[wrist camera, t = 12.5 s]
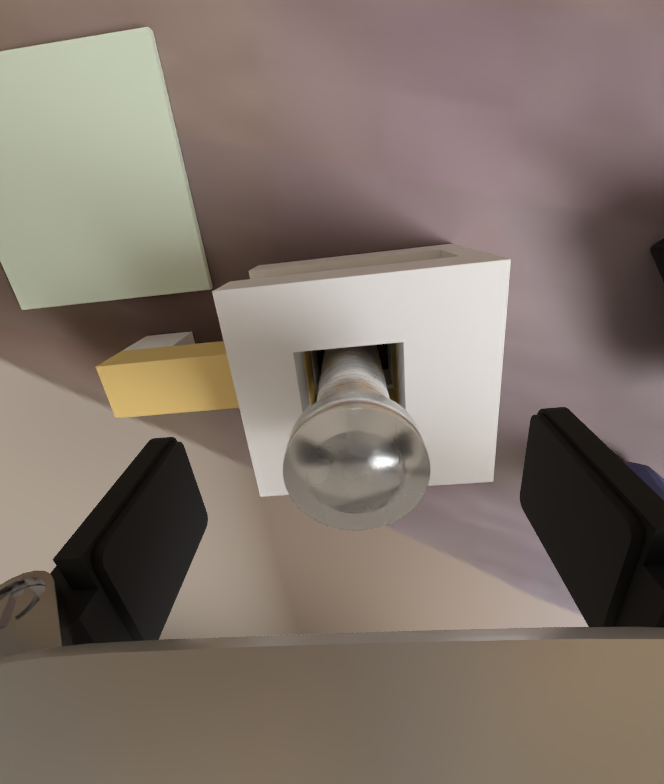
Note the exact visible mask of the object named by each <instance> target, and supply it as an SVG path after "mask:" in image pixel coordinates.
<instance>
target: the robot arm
mask: <svg viewBox="0 0 664 784" xmlns="http://www.w3.org/2000/svg"><path fill="white" fill-rule="evenodd" d="M520 502H521V506H522V509H523V511H524V512H525V514H526V516H527V518H528V519H529V521H530V523H531V525H532V527H533V528H534V530H535V532H536V534H537V535H538V537H539V539H540V541H541V543H542V544H543V546H544V548H545V550H546V551H547V553H548V555H549V557H550V559H551V560H552V562H553V564H554V566H555V567H556V569H557V571H558V573H559V575H560V576H561V578H562V580H563V582H564V583H565V585H566V587H567V589H568V591H569V592H570V594H571V596H572V598H573V599H574V601H575V603H576V605H577V607H578V608H579V610H580V612H581V614H582V615H583V617H584V619H585V620H586V623H587V624H588V626H589V627H553V628H552V627H549V628H509V629H472V630H433V631H399V632H369V633H368V632H366V633H336V634H335V633H334V634H305V635H304V634H303V635H273V636H247V637H219V638H193V639H168V640H167V639H166V640H158V639H159V637H160V635H161V632H162V630H163V628H164V625H165V623H166V621H167V618H168V616H169V614H170V611H171V609H172V607H173V604H174V602H175V599H176V597H177V595H178V593H179V590H180V588H181V586H182V583H183V581H184V578H185V576H186V574H187V571H188V569H189V567H190V564H191V562H192V560H193V557H194V555H195V553H196V550H197V548H198V546H199V543H200V541H201V539H202V536H203V534H204V532H205V529H206V526H207V522H208V517H207V512H206V509H205V506H204V503H203V500H202V497H201V494H200V491H199V489H198V486H197V483H196V480H195V477H194V474H193V471H192V468H191V465H190V462H189V459H188V456H187V454H186V451H185V448H184V445H183V444H182V443H181V442H177V440H176V439H175V438H174V437H167V438H154V439H151V440H150V441H149V442H148V443H147V444H146V445H145V447H144V448H143V449H142V450H141V452H140V453H139V454H138V455H137V457H136V458H135V459H134V460H133V461H132V463H131V464H130V465H129V466H128V468H127V469H126V470H125V472H124V473H123V474H122V475H121V476H120V478H119V479H118V480H117V481H116V482H115V484H114V485H113V486H112V487H111V489H110V490H109V491H108V492H107V494H106V495H105V496H104V497H103V498H102V500H101V501H100V502H99V503H98V505H97V506H96V507H95V508H94V509H93V511H92V512H91V513H90V514H89V516H88V517H87V518H86V519H85V521H84V522H83V523H82V524H81V526H80V527H79V528H78V529H77V531H76V532H75V533H74V534H73V535H72V537H71V538H70V539H69V540H68V541H67V543H66V544H65V545H64V546H63V548H62V549H61V550H60V551H59V553H58V554H57V555H56V556H55V557H54V559H53V561H54V562H55V564H56V565H57V566H56V567H55V568H54V570H53V571H52V572H51V573H50V574H49V573H48V572H46V571H32V572H27V573H23V574H21V575H19V576H16V577H14V578H11V579H10V580H8V581H6V582H4V583H3V584H1V585H0V784H664V500H663V499H662V498H661V497H660V496H659V495H658V494H656V493H655V492H654V491H653V490H652V489H651V488H650V487H649V486H648V485H647V484H646V483H645V482H644V481H643V480H642V479H641V478H640V477H639V476H638V475H637V474H636V473H635V472H634V471H632V470H631V469H630V468H629V467H628V466H627V465H626V464H625V463H624V462H623V461H622V460H621V459H620V458H619V457H618V456H617V455H616V454H615V453H614V452H613V451H612V450H611V449H610V448H608V447H607V446H606V445H605V444H604V443H603V442H602V441H601V440H600V439H599V438H598V437H597V436H596V435H595V434H594V433H593V432H592V431H591V430H590V429H589V428H588V427H587V426H585V425H584V424H583V423H582V422H581V421H580V420H579V419H578V418H577V417H576V416H575V415H574V414H573V413H572V412H571V411H570V410H569V409H567V408H566V407H559V408H546V409H540V410H539V412H538V414H537V415H533V416H532V417H531V420H530V427H529V434H528V441H527V448H526V456H525V463H524V470H523V477H522V484H521V491H520Z"/></svg>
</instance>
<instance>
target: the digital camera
mask: <svg viewBox="0 0 664 784" xmlns="http://www.w3.org/2000/svg"><path fill="white" fill-rule="evenodd" d="M658 245H661V246H658ZM651 253H652V255H653V257H654V260H655V262H656V265H657V267H658V269H659V272H660V274H661V276H662V279H663V281H664V239H662V240H660V241H659V242H657V243H656V244H654V245H653V246H652V247H651Z"/></svg>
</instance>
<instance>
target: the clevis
mask: <svg viewBox="0 0 664 784" xmlns="http://www.w3.org/2000/svg"><path fill="white" fill-rule="evenodd" d="M510 263H511V259H508V258H505V257H501V256H497V255H493V254H490V253H486V252H482V251H479V250H475V249H471V248H467V247H464V246H460V245H456V244H444V245H435V246H426V247H417V248H408V249H399V250H391V251H382V252H373V253H364V254H355V255H346V256H337V257H328V258H320V259H311V260H302V261H293V262H284V263H275V264H266V265H258V266H256V267H255V268H253V269H251V270H249V276H250V279H247V280H238V281H230V282H228V283H226V284H224V285H223V286H221V287H219V288H217V289H216V290H214V291H212V294H213V298H214V302H215V307H216V311H217V315H218V319H219V323H220V328H221V332H222V336H223V340H224V341H218V342H208V343H198V344H195V341H194V338H193V334H192V331H191V332H181V333H171V334H161V335H151V336H146V337H144V338H142V339H141V340H139V341H137V342H136V343H134V344H132V345H131V346H129V347H127V348H126V349H124V350H122V351H121V352H119V353H117V354H116V355H114V356H112V357H111V358H109V359H107V360H106V361H104V362H102V363H101V364H99V365H97V366H96V369H97V371H98V374H99V377H100V379H101V382H102V384H103V387H104V389H105V392H106V395H107V397H108V400H109V402H110V405H111V407H112V410H113V412H114V415H115V417H116V418H122V417H134V416H146V415H158V414H170V413H182V412H194V411H207V410H219V409H231V408H240V413H241V417H242V421H243V425H244V430H245V434H246V438H247V442H248V447H249V451H250V455H251V459H252V463H253V468H254V472H255V476H256V480H257V484H258V489H259V493H260V496H277V495H289V494H288V491H287V489H286V487H285V483H284V479H283V461H284V456H285V452H286V448H287V444H288V440H289V437H290V433H291V431H292V428H293V426H294V424H295V422H296V421H297V419H298V418H299V417H300V415H301V414H302V413H303V412H304V411H305V410H306V409H307V408H308V407H310V406H311V405H312V404H314V403H315V402H317V395H318V389H319V382H320V376H321V375H320V372H319V364H318V357H317V350H324V349H335V348H345V347H356V346H367V345H377V344H387V351H388V369H384V370H383V374H384V378H385V382H386V386H387V390H388V394H389V398H390V399H391V400H393V401H395V402H396V403H398V404H399V405H401V406H402V407H403V408H404V409H405V410H406V411H407V412H408V413H409V414H410V415H411V416H412V417H413V419H414V420H415V422H416V424H417V425H418V428H419V430H420V432H421V435H422V438H423V441H424V444H425V447H426V450H427V452H428V456H429V460H430V469H431V470H430V479H429V483H428V486H434V485H449V484H465V483H481V482H493V477H494V465H495V452H496V440H497V427H498V414H499V402H500V389H501V377H502V364H503V352H504V339H505V326H506V314H507V301H508V289H509V276H510Z"/></svg>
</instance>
